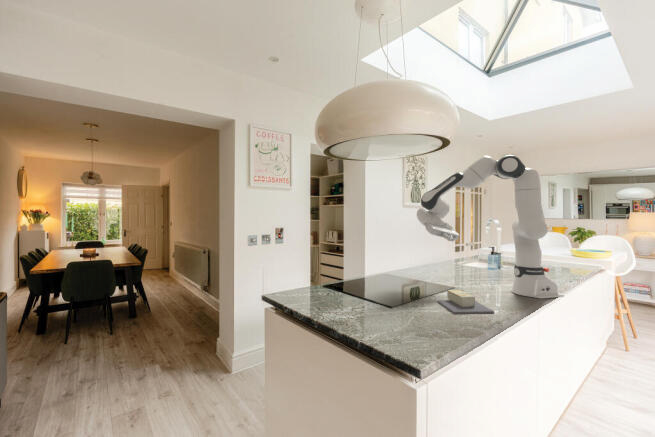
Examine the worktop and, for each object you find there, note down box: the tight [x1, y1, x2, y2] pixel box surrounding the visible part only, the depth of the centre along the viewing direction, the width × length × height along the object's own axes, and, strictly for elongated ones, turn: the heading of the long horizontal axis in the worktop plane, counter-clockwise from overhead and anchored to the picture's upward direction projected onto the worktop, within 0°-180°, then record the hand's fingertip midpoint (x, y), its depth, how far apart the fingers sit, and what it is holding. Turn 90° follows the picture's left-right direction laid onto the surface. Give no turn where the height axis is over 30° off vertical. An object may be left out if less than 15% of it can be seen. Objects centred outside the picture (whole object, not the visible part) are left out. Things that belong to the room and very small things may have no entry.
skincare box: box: [446, 289, 476, 307], centre depth 136 cm, size 6×4×12 cm
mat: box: [437, 299, 495, 315], centre depth 132 cm, size 17×16×1 cm
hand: (451, 240), depth 156 cm, fingers closed
